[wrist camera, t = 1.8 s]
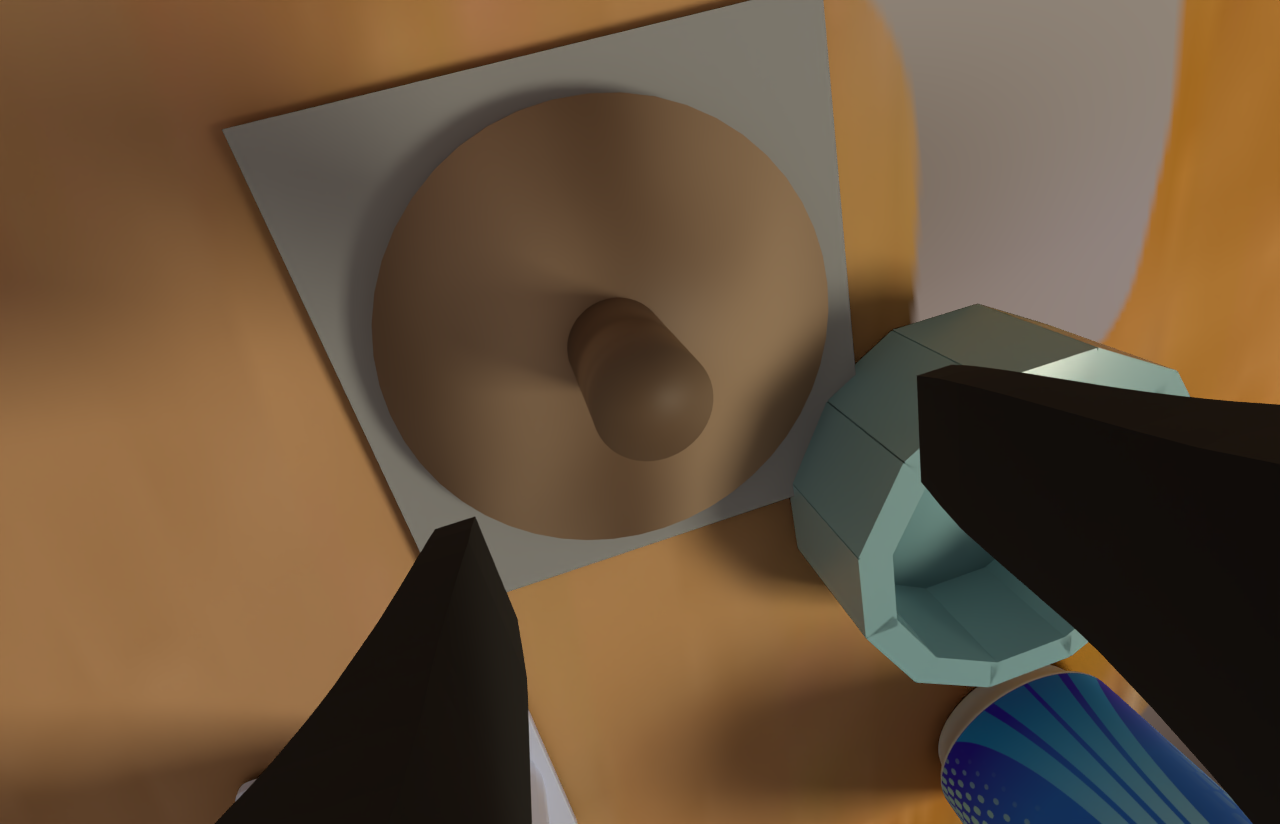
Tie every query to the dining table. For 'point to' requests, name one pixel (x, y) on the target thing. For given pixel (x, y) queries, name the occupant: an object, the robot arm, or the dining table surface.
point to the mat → (473, 99)
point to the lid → (599, 316)
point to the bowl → (935, 502)
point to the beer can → (1069, 759)
